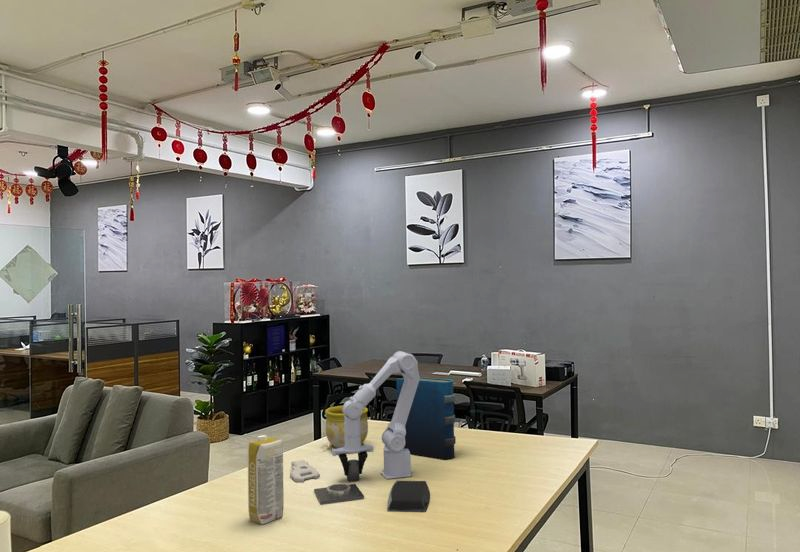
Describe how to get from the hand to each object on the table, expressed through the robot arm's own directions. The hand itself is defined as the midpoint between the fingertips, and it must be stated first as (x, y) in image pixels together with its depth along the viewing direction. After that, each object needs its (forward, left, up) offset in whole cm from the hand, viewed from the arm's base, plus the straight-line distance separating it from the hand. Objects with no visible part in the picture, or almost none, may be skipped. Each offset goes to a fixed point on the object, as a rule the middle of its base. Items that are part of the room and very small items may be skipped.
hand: (353, 474), depth 202 cm
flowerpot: (-7, -40, -2) cm, 41 cm away
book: (-36, -20, -2) cm, 41 cm away
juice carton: (+32, +24, -2) cm, 40 cm away
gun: (+16, -13, -3) cm, 21 cm away
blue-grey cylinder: (0, 0, -2) cm, 2 cm away
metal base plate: (+8, +13, -2) cm, 15 cm away
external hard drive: (-12, +25, -3) cm, 28 cm away
